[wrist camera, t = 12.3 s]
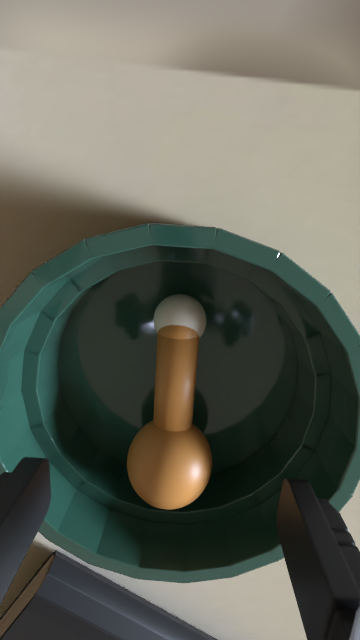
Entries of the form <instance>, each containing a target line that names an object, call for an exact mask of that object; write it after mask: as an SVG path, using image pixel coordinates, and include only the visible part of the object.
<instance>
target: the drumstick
mask: <svg viewBox="0 0 360 640" xmlns="http://www.w3.org/2000/svg"><path fill="white" fill-rule="evenodd" d="M154 327H155V330H156V333H157V352H156V374H155V396H154V417H153V421H151V422H149V423H147V424H146V425H145V426H144V427H142V428H141V429H140V430H139V432H138V433H137V434H136V436H135V437H134V439H133V441H132V443H131V445H130V448H129V452H128V457H127V470H128V476H129V479H130V482H131V484H132V486H133V488H134V490H135V491H136V493H137V494H138V495H139V496H140V497H141V498H142V499H143V500H144V501H145V502H147V503H148V504H150V505H152V506H154V507H156V508H160V509H167V510H172V509H178V508H181V507H184V506H186V505H188V504H190V503H192V502H193V501H194V500H196V499H197V498H198V497H199V496H200V494H201V493H202V492H203V491H204V489H205V487H206V486H207V483H208V481H209V479H210V475H211V470H212V455H211V450H210V446H209V443H208V441H207V439H206V438H205V436H204V434H203V433H202V432H201V430H200V429H199V428H198V427H197V426H195V425H194V424H193V423H192V420H193V408H194V396H195V385H196V373H197V361H198V349H199V338H200V337H201V336H202V334H203V332H204V330H205V327H206V314H205V311H204V308H203V307H202V305H201V304H200V303H199V302H198V301H197V300H196V299H195V298H193V297H191V296H189V295H185V294H175V295H171V296H169V297H167V298H165V299H164V300H163V301H162V302H161V303H160V304H159V305H158V307H157V308H156V311H155V314H154Z"/></svg>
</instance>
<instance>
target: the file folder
mask: <svg viewBox="0 0 360 640" xmlns="http://www.w3.org/2000/svg"><path fill="white" fill-rule="evenodd" d="M0 640H217V639H215V638H213V637H211V636H210V635H208V634H206V633H204V632H202V631H201V630H199V629H197V628H195V627H193V626H192V625H190V624H188V623H186V622H184V621H183V620H181V619H179V618H177V617H175V616H174V615H172V614H170V613H168V612H166V611H165V610H163V609H161V608H159V607H157V606H156V605H154V604H152V603H150V602H148V601H146V600H145V599H143V598H141V597H139V596H137V595H136V594H134V593H132V592H130V591H128V590H127V589H125V588H123V587H121V586H119V585H118V584H116V583H114V582H112V581H110V580H109V579H107V578H105V577H103V576H101V575H100V574H98V573H96V572H94V571H92V570H91V569H89V568H87V567H85V566H83V565H82V564H80V563H78V562H76V561H74V560H73V559H71V558H69V557H67V556H65V555H64V554H62V553H60V552H58V551H54V552H52V553H51V555H50V556H49V557H48V559H47V560H46V561H45V562H44V564H43V565H42V566H41V567H40V569H39V570H38V571H37V572H36V574H35V575H34V576H33V578H32V579H31V580H30V581H29V583H28V584H27V585H26V586H25V588H24V589H23V590H22V592H21V593H20V594H19V595H18V597H17V598H16V599H15V600H14V602H13V603H12V604H11V606H10V607H9V608H8V609H7V611H6V612H5V613H4V614H3V616H2V617H1V618H0Z"/></svg>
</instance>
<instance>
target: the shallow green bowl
mask: <svg viewBox="0 0 360 640" xmlns="http://www.w3.org/2000/svg"><path fill="white" fill-rule="evenodd" d="M175 294H185V295H189V296H191V297H193V298H195V299H196V300H197V301H198V302H199V303H200V304H201V305H202V307H203V308H204V311H205V314H206V327H205V330H204V332H203V334H202V336H201V337H200V338H199V349H198V361H197V373H196V385H195V396H194V408H193V420H192V423H193V424H194V425H195V426H197V427H198V428H199V429H200V430H201V432H202V433H203V434H204V436H205V438H206V439H207V441H208V443H209V446H210V450H211V455H212V470H211V475H210V479H209V481H208V483H207V486H206V487H205V489H204V491H203V492H202V493H201V494H200V496H199V497H198V498H197V499H196V500H194V501H193V502H192V503H190V504H188V505H186V506H184V507H181V508H178V509H172V510H167V509H160V508H156V507H154V506H152V505H150V504H148V503H147V502H145V501H144V500H143V499H142V498H141V497H140V496H139V495H138V494H137V493H136V491H135V490H134V488H133V486H132V484H131V482H130V479H129V476H128V470H127V457H128V452H129V448H130V445H131V443H132V441H133V439H134V437H135V436H136V434H137V433H138V432H139V430H140V429H141V428H142V427H144V426H145V425H146V424H147V423H149V422H151V421H153V417H154V396H155V374H156V352H157V333H156V330H155V327H154V314H155V311H156V308H157V307H158V305H159V304H160V303H161V302H162V301H163V300H164V299H165V298H167V297H169V296H171V295H175ZM24 457H36V458H47V459H48V460H49V468H50V484H51V501H50V505H49V509H48V512H47V514H46V516H45V518H44V520H43V522H42V524H41V526H40V528H39V530H38V532H39V533H41V534H42V535H43V536H44V537H45V538H46V539H48V540H49V541H50V542H52V543H54V544H55V545H57V546H59V547H61V548H62V549H64V550H66V551H68V552H69V553H71V554H73V555H75V556H76V557H78V558H80V559H82V560H83V561H85V562H87V563H88V564H91V565H94V566H97V567H100V568H104V569H107V570H110V571H113V572H116V573H120V574H123V575H126V576H129V577H132V578H137V579H144V580H155V581H166V582H177V583H191V582H199V581H207V580H215V579H223V578H231V577H235V576H238V575H241V574H244V573H246V572H249V571H252V570H255V569H257V568H260V567H263V566H266V565H268V564H271V563H274V562H277V561H279V560H281V559H283V558H284V554H283V551H282V547H281V543H280V540H279V536H278V532H277V520H276V519H277V510H278V504H279V499H280V494H281V488H282V483H283V480H284V479H285V478H289V479H301V480H308V481H309V482H310V484H311V486H312V488H313V490H314V492H315V494H316V497H317V498H321V499H327V500H328V502H329V503H330V504H331V505H332V506H333V507H334V508H335V509H336V510H337V511H338V512H339V511H340V510H341V509H342V508H343V507H344V506H345V504H346V503H347V502H348V501H349V500H350V499H351V497H352V496H353V495H352V494H354V491H355V489H356V487H357V485H358V482H359V480H360V335H359V333H358V332H357V330H356V329H355V327H354V325H353V324H352V322H351V321H350V319H349V318H348V316H347V315H346V313H345V312H344V310H343V309H342V307H341V306H340V304H339V302H338V301H337V299H336V298H335V296H334V295H333V293H331V292H330V290H329V289H327V288H326V287H325V286H324V285H322V284H321V283H320V282H319V281H317V280H316V279H315V278H314V277H312V276H311V275H310V274H309V273H307V272H306V271H305V270H303V269H302V268H301V267H300V266H298V265H297V264H296V263H295V262H293V261H292V260H291V259H290V258H288V257H287V256H286V255H285V254H283V253H281V252H280V251H278V250H276V249H273V248H270V247H268V246H265V245H262V244H260V243H257V242H255V241H252V240H249V239H247V238H244V237H241V236H239V235H236V234H234V233H231V232H228V231H226V230H223V229H220V228H215V227H204V226H188V225H173V224H157V223H150V224H142V225H138V226H134V227H130V228H126V229H122V230H118V231H113V232H109V233H105V234H101V235H97V236H93V237H88V238H86V239H84V240H81V241H79V242H78V243H76V244H74V245H73V246H71V247H70V248H68V249H66V250H65V251H63V252H61V253H60V254H58V255H56V256H55V257H53V258H52V259H50V260H48V261H47V262H45V263H43V264H42V265H40V266H38V267H37V268H35V269H33V270H32V272H30V273H29V274H28V275H27V277H26V278H25V279H24V280H23V281H22V282H21V284H20V285H19V286H18V287H17V288H16V290H15V291H14V292H13V293H12V294H11V296H10V297H9V298H8V299H7V300H6V302H5V303H4V304H3V305H2V306H1V308H0V475H1V474H2V473H4V472H11V473H12V471H13V470H14V469H15V467H16V466H17V465H18V463H19V462H20V461H21V459H22V458H24Z"/></svg>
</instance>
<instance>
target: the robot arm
mask: <svg viewBox="0 0 360 640" xmlns="http://www.w3.org/2000/svg"><path fill="white" fill-rule="evenodd" d="M50 501H51V484H50V468H49V460H48V459H47V458H36V457H24V458H22V459H21V461H20V462H19V463H18V465H17V466H16V467H15V469H14V470H13V471H12V473H11V472H4V473H2V474H1V475H0V604H1V602H2V600H3V598H4V596H5V594H6V592H7V590H8V588H9V586H10V584H11V582H12V581H13V579H14V577H15V575H16V573H17V571H18V569H19V567H20V565H21V563H22V561H23V559H24V557H25V555H26V553H27V551H28V549H29V547H30V546H31V544H32V542H33V540H34V538H35V536H36V534H37V532H38V530H39V528H40V526H41V524H42V522H43V520H44V518H45V516H46V514H47V512H48V509H49V505H50ZM276 520H277V532H278V536H279V540H280V543H281V547H282V551H283V554H284V558H285V561H286V565H287V568H288V572H289V576H290V579H291V583H292V586H293V590H294V593H295V597H296V601H297V604H298V608H299V611H300V615H301V618H302V622H303V626H304V629H305V633H306V636H307V640H360V552H359V550H358V548H357V547H356V546H355V542H354V540H353V538H352V536H351V534H350V533H349V532H348V528H347V527H346V525H345V523H344V521H343V519H342V517H341V515H340V513H339V512H338V511H337V510H336V509H335V508H334V507H333V506H332V505H331V504H330V503H329V502H328V500H327V499H321V498H317V497H316V494H315V492H314V490H313V488H312V486H311V484H310V482H309V481H308V480H301V479H289V478H285V479H284V480H283V483H282V488H281V494H280V499H279V504H278V510H277V519H276Z"/></svg>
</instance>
